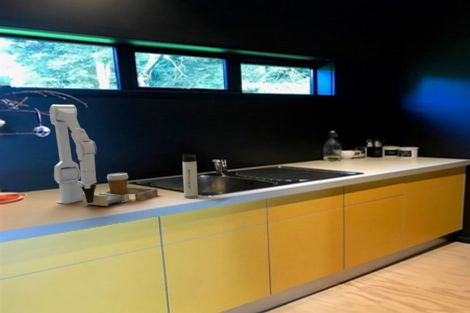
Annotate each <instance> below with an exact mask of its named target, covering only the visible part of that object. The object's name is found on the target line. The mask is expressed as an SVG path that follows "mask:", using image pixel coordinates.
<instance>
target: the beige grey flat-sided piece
mask: <svg viewBox="0 0 470 313" xmlns="http://www.w3.org/2000/svg"><path fill="white" fill-rule="evenodd" d="M126 202H130V193H127V194H124V195H117V194H108V192H106V191H103V192H99V194H94V199H93V203H87V200H86V196H85V194H84V193H83V200H82V203H83V204H85V205H94V206H102V207H103V206H104V207H107V208H108V207H110V206H111V204H113V203H116V204H120V203H126Z"/></svg>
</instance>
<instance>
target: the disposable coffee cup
mask: <svg viewBox="0 0 470 313" xmlns="http://www.w3.org/2000/svg"><path fill="white" fill-rule="evenodd" d="M106 179H107V182H108V188H109V191H110V193H111V194H117V195H124V194H128V193H127V187H128V179H129V175H128V173H127V172H116V173H115V172H114V173H109V174H107V177H106Z"/></svg>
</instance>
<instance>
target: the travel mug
mask: <svg viewBox="0 0 470 313" xmlns="http://www.w3.org/2000/svg"><path fill="white" fill-rule="evenodd" d="M197 168H198V167H197V155H196V154H189V153H188V154H187V153H182V175H183V176H182V177H183V197H184V199H195V197H196V198H198V197H197V196H199V194H198V193H199V192H198V170H197Z"/></svg>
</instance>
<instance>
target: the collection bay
mask: <svg viewBox="0 0 470 313" xmlns="http://www.w3.org/2000/svg"><path fill="white" fill-rule="evenodd" d="M105 192H108V194H111V193H110V190H106V191H105ZM127 194H134V196H135V200H134V201H135V202H140V201H143V200H147V199H150V198H153V197H157V196H159V193H158V189H157V188H148V187H147V188H146V187H137V186H136V187H133V186H127Z"/></svg>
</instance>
